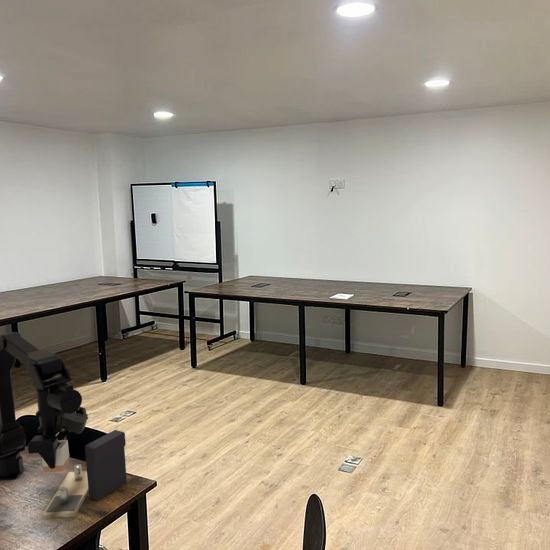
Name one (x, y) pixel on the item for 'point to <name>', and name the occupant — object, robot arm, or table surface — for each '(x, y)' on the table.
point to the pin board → (75, 496)
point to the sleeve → (59, 458)
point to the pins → (64, 490)
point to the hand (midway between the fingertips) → (56, 463)
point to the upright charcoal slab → (105, 464)
